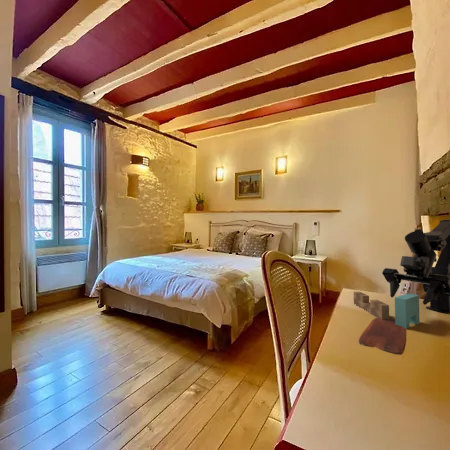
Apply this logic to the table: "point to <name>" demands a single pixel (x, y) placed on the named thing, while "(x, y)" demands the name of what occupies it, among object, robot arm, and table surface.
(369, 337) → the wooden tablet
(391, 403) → the table surface
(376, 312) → the walnut notched bar
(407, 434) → the table surface
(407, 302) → the teal flat block
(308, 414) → the table surface
